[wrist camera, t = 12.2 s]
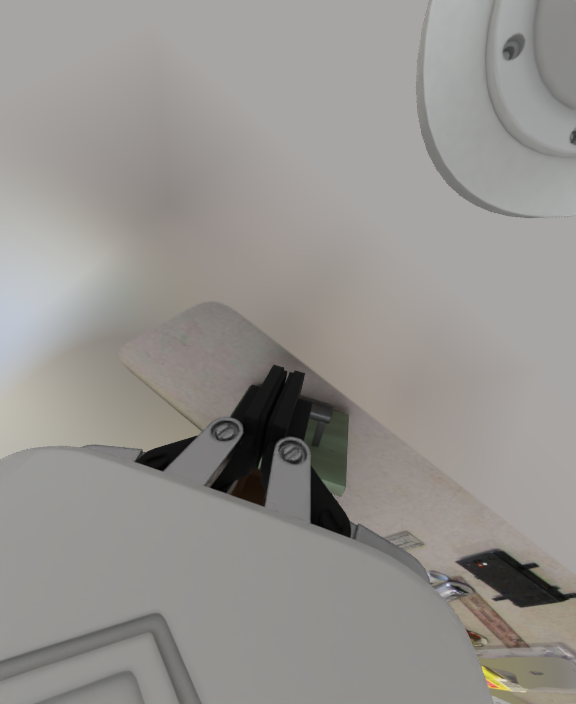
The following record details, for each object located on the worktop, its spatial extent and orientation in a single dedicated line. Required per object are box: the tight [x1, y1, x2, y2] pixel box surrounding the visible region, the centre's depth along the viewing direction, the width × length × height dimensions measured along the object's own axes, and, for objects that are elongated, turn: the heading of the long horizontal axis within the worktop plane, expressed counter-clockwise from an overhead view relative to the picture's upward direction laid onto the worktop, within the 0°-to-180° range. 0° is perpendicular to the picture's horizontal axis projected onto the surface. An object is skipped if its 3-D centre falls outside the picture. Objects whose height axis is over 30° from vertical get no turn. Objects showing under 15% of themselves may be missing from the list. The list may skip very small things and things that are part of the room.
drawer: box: [230, 385, 349, 506], centre depth 24 cm, size 18×10×8 cm, turn 171°
